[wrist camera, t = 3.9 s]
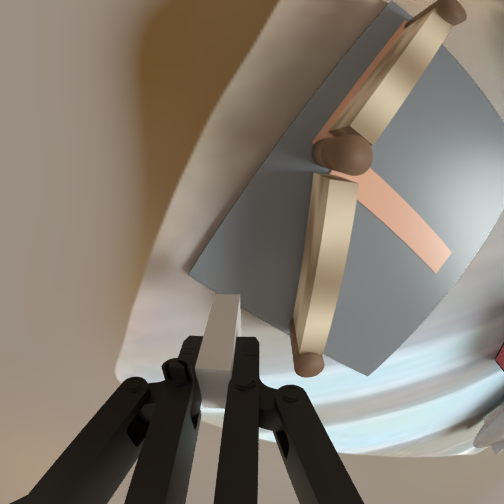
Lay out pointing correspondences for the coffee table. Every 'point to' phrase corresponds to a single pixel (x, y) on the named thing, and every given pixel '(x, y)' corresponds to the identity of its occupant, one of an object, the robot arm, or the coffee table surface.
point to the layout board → (371, 205)
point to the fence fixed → (386, 90)
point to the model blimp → (492, 431)
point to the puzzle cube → (500, 358)
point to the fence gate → (321, 269)
